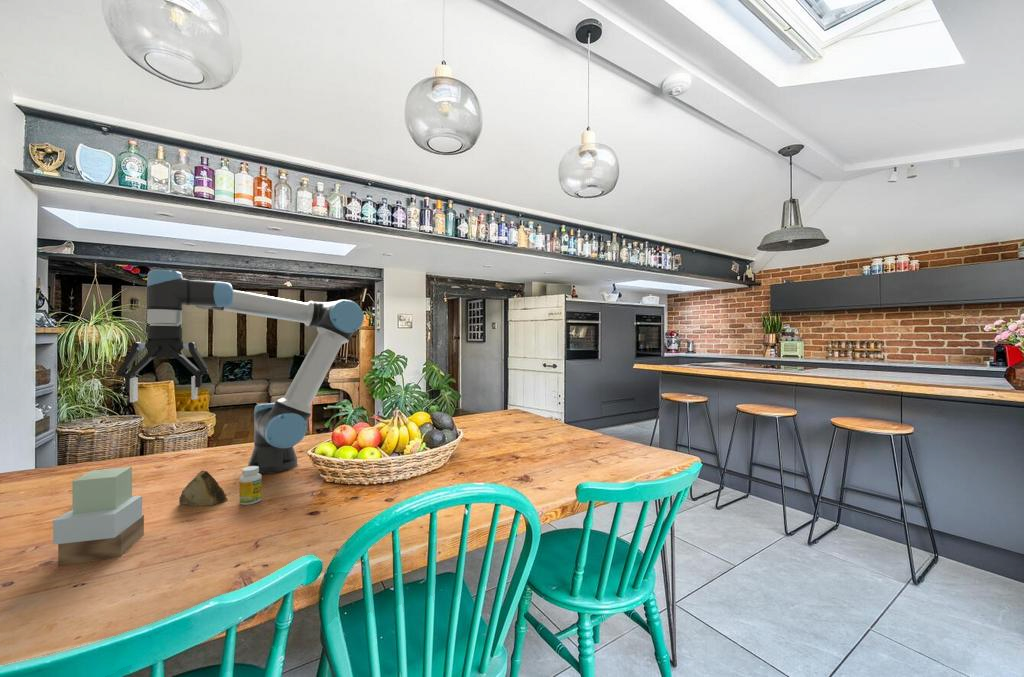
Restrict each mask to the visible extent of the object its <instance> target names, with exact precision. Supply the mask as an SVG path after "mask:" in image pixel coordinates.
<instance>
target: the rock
mask: <svg viewBox="0 0 1024 677" xmlns="http://www.w3.org/2000/svg"><path fill="white" fill-rule="evenodd" d="M226 501H228V497H227V495H226V493H225V490H224V489H223V488H222V487H221V486H220V485H219V483H218V482H217V480H216V479H215V478H214V477H213V476H212V474H210V472H208V471H207V470H204V469H202V470H201V471H199V472H198V473H196V476H195V477H194V478H193V479H192V480H191V481H189V483H187V485H186V486H185V488H184V489H182V491H181V494H180V496H179V500H178V503H179V504H180V505H189V506H190V505H191V506H194V505H195V506H211V505H212V506H213V505H217V504H220V503H224V502H226Z"/></svg>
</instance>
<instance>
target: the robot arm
mask: <svg viewBox="0 0 1024 677" xmlns="http://www.w3.org/2000/svg"><path fill="white" fill-rule="evenodd" d="M146 282H147V283H146V299H147V300H146V303H147V304H146V306H147V307H146V308H147V309H146V317H147V318H146V323H147V324H149V325H148V326H147V327H146V343H145V342H140V341H135V342H132V343H131V347H130V351H129V352H128V354H127V356H126V357H125V359H124V360H123V362H122V363H121V365H120V366H119V368H118V369H117V371H116V372H115V375H116V377H122V378H123V379H125V380H124V382H125V383H124V384H125V386H124V387H125V391H129V403H135V402H138V401H139V377H136V375H137V374H138V373H139V372H140V371H141V370H143V368H145V367H146V366H147V365H148V364H149V363H150V362H151V361H152V360H154V359H155V358H156V359H174V358H175V360H177V361H178V362H180V363H181V364H182V366H184V367H185V368H186V369H187V370H189V372H190V373H192V375H193V376H191V379H190V380H191V381H190V382H191V384H190V385H191V386H190V389H191V390H190V391H191V400H197V399H198V397H199V396H198V394H199V392H198V391H199V390H198V388H201V387H202V386H203V385H202V384H203V376H204V375H207V374H209V373H210V369H209V367H208V365H207V364H206V362H205V360H204V359H203V357H202V356H201V354H200V352H199V351H198V349H197V348H198V347H197V343H196V342H192V341H190V342H187V343H184V342H183V327H182V326H180V325H182V324H183V306H195V307H196V308H198V309H203V310H207V309H209V310H213V311H214V310H217V311H223V312H229V313H235V314H236V313H237V314H243V315H249V316H257V317H261V318H262V317H263V318H270V319H276V320H283V321H288V322H289V321H290V322H297V323H303V324H304V325H305V326H306V327H311V328H315V329H316V331H317V336H316V337H315V339H314V341H313V343H312V345H311V346H310V349H309V350H308V352H307V354H306V356H305V358H304V360H303V362H302V363H301V365H300V367H299V369H298V370H297V373H296V374H295V376H294V378H293V380H292V382H291V384H290V386H289V387H288V389H287V390H286V393H285V395H284V396H283V397H281V398H279V399H276V401H275V402H270V403H269V402H268V403H261V404H256V405H255V406H254V412H253V418H254V419H253V420H254V425H253V426H254V428H253V429H254V431H253V433H254V434H253V435H254V436H253V437H254V438H253V442H254V443H253V444H254V445H253V450H252V453H251V456H250V458H249V461H248V463H247V464H248V465H247V467H249V466H258V467H259V472H258V473H259V474H261V475H263V474H264V475H265V474H272V473H279V472H284V471H287V470H290V469H292V468H294V467H296V466H297V465H298V456H297V454H296V453H297V452H296V450H295V448H294V446H296V445H298V444H299V443H301V442H302V440H304V438H305V437H306V434H307V431H308V424H307V423H308V421H309V419H310V417H311V415H312V410H311V405H312V403H313V400H315V397H316V396H317V393H318V392H319V390H320V387H321V386H322V384H323V382H324V381H325V377H326V376H327V374H328V372H329V371H330V369H331V367H332V364H333V363H334V361H335V359H336V356H337V354H339V351H340V349H341V348H342V345H344V344H347V343H350V340H351V338H352V336H353V334H354V333H355V332H357V331H358V330H359V329H360V328H361V327H362V325H363V323H364V316H365V315H364V313H363V312H364V311H363V309H362V308H361V306H359V304H358V303H356V302H355V301H353V300H351V299H342V298H341V299H338V300H334V301H323V302H322V301H313V300H310V301H308V302H303V301H298V300H292V299H286V298H281V297H275V296H271V295H266V294H265V295H264V294H259V293H253V292H248V291H241V290H237V289H233V286H232V284H231V283H230V282H224V281H220V280H219V281H218V280H217V281H215V280H212V281H211V280H199V279H197V280H195V279H187V278H184V276H183V273H182V272H180V271H178V270H170V269H150V271H148V273H147V281H146ZM184 348H185V349H186V350H187V351H189V354H190V355H191V357H192V358H193V360H194V361H195V363H196V364H197V366H196V365H195V364H194V363H193V362H191V360H189V359H188V358H187V357H186V356H185V354H184V353H182V350H183V349H184ZM143 349H146V350H147V351H148V353H146V355H144V357H142V358H141V359H140V360H139V361H138V362H137V363H136V364H135V365H134V366H133V367H132V365H133V363H134V362H135V360H136V359H137V357H138V355H140V352H141V351H143ZM131 367H132V368H131ZM130 368H131V369H130Z"/></svg>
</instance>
